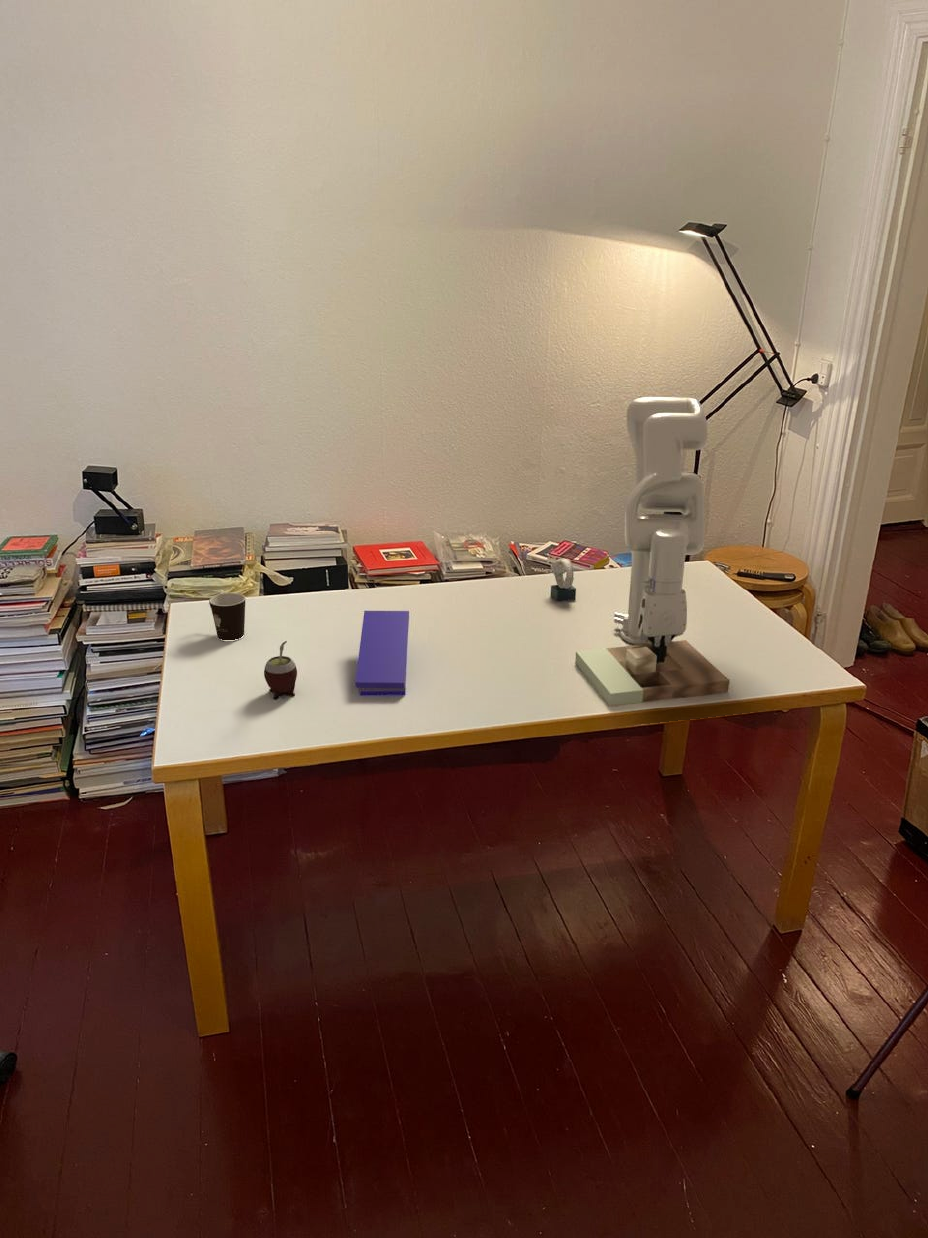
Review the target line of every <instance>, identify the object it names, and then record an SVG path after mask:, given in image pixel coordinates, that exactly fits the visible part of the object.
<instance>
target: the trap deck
mask: <svg viewBox="0 0 928 1238" xmlns="http://www.w3.org/2000/svg"><path fill="white" fill-rule="evenodd" d="M641 647H648V648H649V649H650V650H652V644H644V645H635V644H633V645H628V646H627V645H626V646H617V647H608V648H607V647H606V649H607V650H608V651H609V652H610V653H611V655H612V656H613V657H614V658H615V659H616V660H617V661H618V662H619V663H620V665H621V666H622V667H623V668H624V669H625V670H626V671H627V672H628V673H629V675H630V676H631V677H632V678H633V679H634V680H635V681H636V682H637V684H638V685H639V686H640V687H641V688H642V689H643V700H642V702H641V703H647V702H656V701H657V702H658V701H663V700H664V701H665V700H674V699H683V698H691V697H699V696H708V695H710V696H711V695H715V694H717V695H718V694H725V693H729V689H730V688H729V687H730V682H731V681H730V679H729V678H728V677H727V676H726V675H725V674H723V673H722V672H721V670H720V669H718V668H717V667H716V666H715V665H714V664H713V663H711V662H710V660H709V659H708V658H706V657H705V656H704V655H703V654H701V652H699V651H698V650H697V649H696V648H695V647H694V645H692V644H691V643H689V641H688V640H675V641H674V640H672V641H671V642H670V644H669V646H667V652H666V657H665V661H664V662H660V663H657V662H656V670H655V672H651V673H643V674H636V675H635V674H634V673H633V672H632V671H631V670H630V669H629V668H628V667H627V666H626V665H625V664H626V651H627V649H633V648H641Z"/></svg>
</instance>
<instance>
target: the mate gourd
mask: <svg viewBox="0 0 928 1238" xmlns="http://www.w3.org/2000/svg"><path fill="white" fill-rule="evenodd" d="M286 643H287V640H285V641H284V642H282V643H281V645H280V646H279V655H277V656H274V657H273V656H272V657H271V658H269V659H268V660H267V662H266V663H265V666H264V671H263V676H264V679H265V682H266V684H267V686H268V687H269V689H268V691H269V693H273V695H274V696H273V699H272V700H276V701H277V700H278V699H279V698H281V697H282V696H287V697H292V698H293V697H295V696H296V693H294V691H295V688H296V680H297V676H298V670H297V669H298V668H297V665H296V663H295V662H294V660H293V659H292V658H290V657H289V656H285V655H283V651H284V648H285V647H284V646H285V645H286Z"/></svg>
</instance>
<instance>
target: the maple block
mask: <svg viewBox="0 0 928 1238" xmlns="http://www.w3.org/2000/svg"><path fill="white" fill-rule="evenodd" d="M656 659H657V656H656V655H655V654H654V653H653V652H652V651H651V650H650V649H649V648H648V647H641V648H633V649H627V651H626V664H625V665H626V666H627V667H628V668H629V669H630V670H631V671H632V672H633V673H634V674H635V675H636V674H643V673H651V672H655V670H656Z"/></svg>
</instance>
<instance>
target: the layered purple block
mask: <svg viewBox="0 0 928 1238" xmlns="http://www.w3.org/2000/svg"><path fill="white" fill-rule="evenodd" d="M409 623H410V611H409V610H364V611H363V618H362V626H361V634H360V641H359V649H358V650H359V651H358V657H357V658H358V659H357V666H356V674H355V682H354V684H355V688H356V689H359V696H360V697H361V696H366V697H367V696H406V691H407V690H406V686H407V685H406V684H407V664H408V663H407V660H408V657H407V655H408V642H409V641H408V639H409V625H410V624H409Z"/></svg>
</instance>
